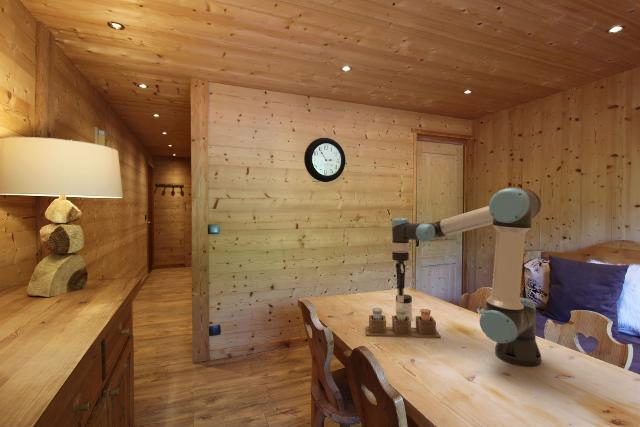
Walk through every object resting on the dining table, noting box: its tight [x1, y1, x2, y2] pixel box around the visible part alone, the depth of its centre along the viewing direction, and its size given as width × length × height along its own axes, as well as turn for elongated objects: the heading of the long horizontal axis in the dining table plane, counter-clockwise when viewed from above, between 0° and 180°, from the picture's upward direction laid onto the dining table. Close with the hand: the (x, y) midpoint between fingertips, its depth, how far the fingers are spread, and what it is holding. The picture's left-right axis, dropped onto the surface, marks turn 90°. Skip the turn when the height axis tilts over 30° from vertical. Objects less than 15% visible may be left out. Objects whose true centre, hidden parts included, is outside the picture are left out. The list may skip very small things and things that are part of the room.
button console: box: [365, 314, 442, 339], centre depth 148 cm, size 10×33×7 cm, turn 84°
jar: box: [395, 294, 413, 322], centre depth 167 cm, size 9×8×12 cm
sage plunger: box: [395, 308, 406, 320], centre depth 148 cm, size 5×5×7 cm
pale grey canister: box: [371, 307, 383, 320], centre depth 150 cm, size 5×5×7 cm
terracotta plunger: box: [419, 308, 432, 321], centre depth 147 cm, size 5×5×7 cm
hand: (400, 301), depth 148 cm, fingers closed
